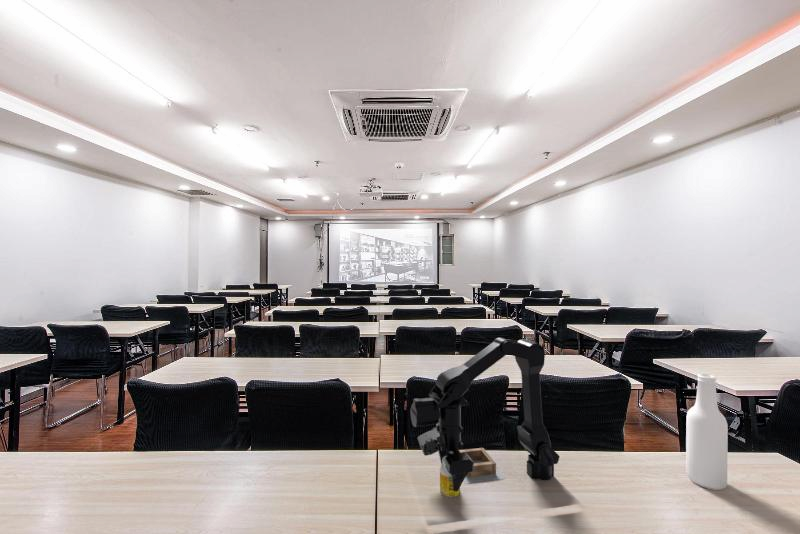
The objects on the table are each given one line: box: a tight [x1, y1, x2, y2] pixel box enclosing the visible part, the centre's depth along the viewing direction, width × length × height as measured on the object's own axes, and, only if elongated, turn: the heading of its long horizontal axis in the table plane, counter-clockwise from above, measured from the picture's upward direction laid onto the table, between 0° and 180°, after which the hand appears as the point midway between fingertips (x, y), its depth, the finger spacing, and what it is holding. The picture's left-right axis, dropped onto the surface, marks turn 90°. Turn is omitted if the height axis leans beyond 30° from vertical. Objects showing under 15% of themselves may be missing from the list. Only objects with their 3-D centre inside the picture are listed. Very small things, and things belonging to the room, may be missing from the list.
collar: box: [459, 447, 497, 477], centre depth 105 cm, size 9×9×3 cm
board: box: [463, 460, 506, 485], centre depth 105 cm, size 12×14×1 cm
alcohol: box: [685, 373, 729, 491], centre depth 99 cm, size 9×9×30 cm
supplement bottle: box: [439, 456, 461, 498], centre depth 94 cm, size 5×5×10 cm
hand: (449, 479), depth 94 cm, fingers open, 9 cm apart
